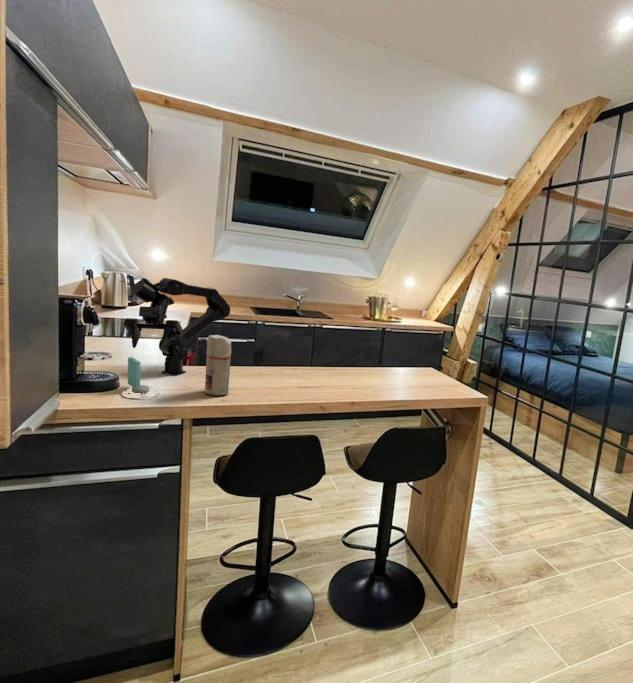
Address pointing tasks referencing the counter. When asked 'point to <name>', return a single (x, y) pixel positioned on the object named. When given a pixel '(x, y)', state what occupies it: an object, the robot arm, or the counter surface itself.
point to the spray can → (217, 365)
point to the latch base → (149, 393)
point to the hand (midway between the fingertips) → (147, 348)
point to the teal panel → (135, 376)
